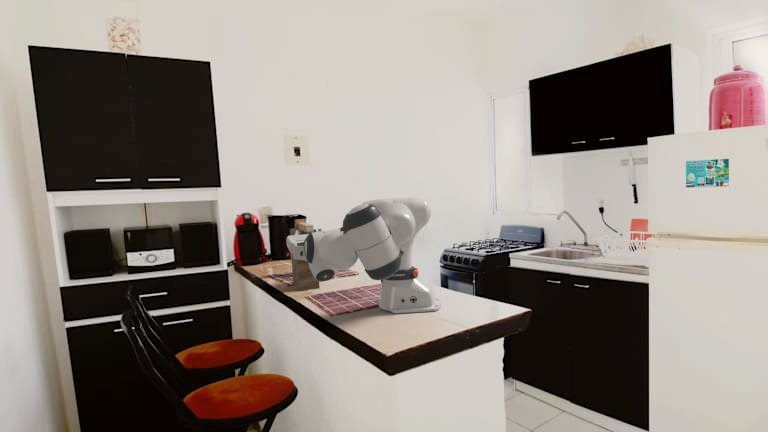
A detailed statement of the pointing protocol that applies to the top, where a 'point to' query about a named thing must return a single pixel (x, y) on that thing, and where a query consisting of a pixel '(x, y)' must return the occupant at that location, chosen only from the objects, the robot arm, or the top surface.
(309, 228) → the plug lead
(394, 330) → the top surface
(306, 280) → the stand
